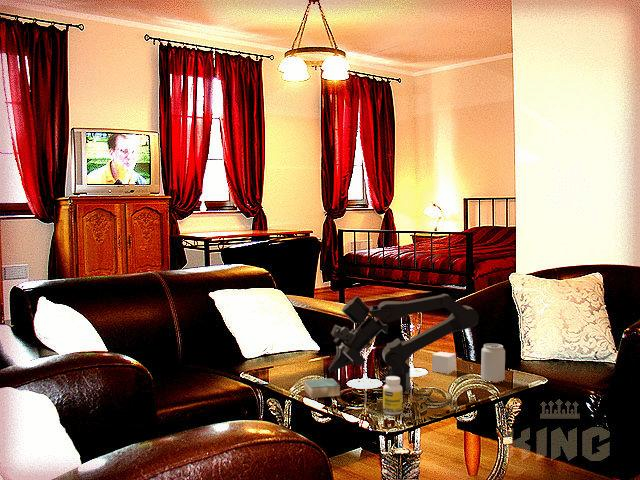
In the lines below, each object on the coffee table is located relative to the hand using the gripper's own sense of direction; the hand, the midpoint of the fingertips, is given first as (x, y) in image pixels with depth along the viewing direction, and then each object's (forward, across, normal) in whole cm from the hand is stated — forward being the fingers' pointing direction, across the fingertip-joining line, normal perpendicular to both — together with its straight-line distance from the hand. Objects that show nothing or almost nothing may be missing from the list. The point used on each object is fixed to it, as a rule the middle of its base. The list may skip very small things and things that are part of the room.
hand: (329, 370), depth 212 cm
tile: (+2, 0, +5) cm, 6 cm away
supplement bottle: (-5, +22, +14) cm, 27 cm away
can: (-34, -2, +44) cm, 55 cm away
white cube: (-26, -17, +36) cm, 47 cm away
